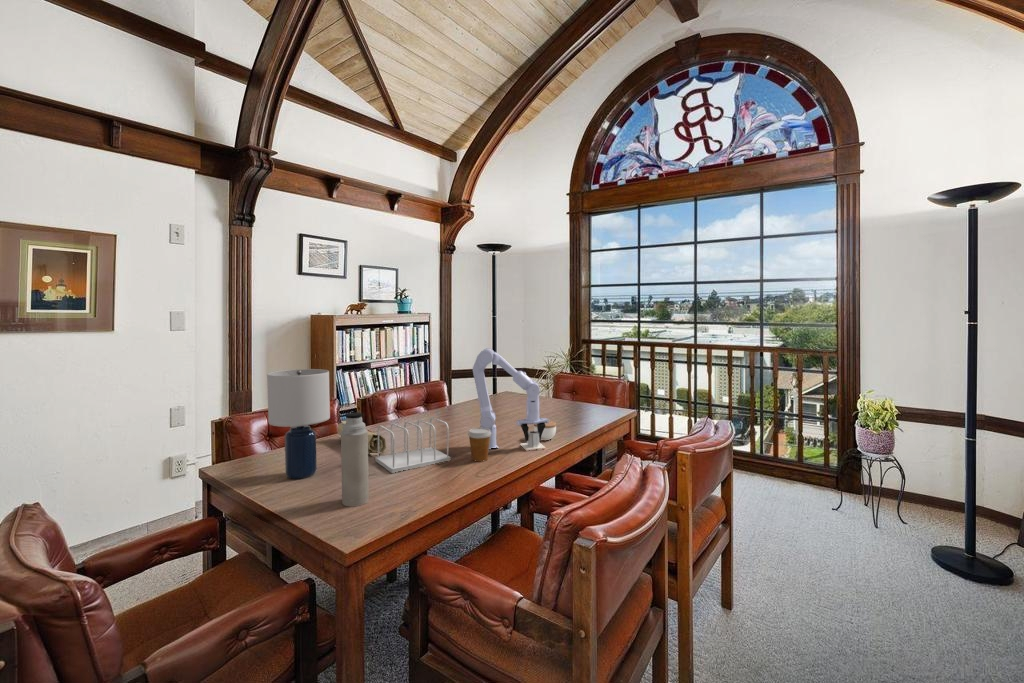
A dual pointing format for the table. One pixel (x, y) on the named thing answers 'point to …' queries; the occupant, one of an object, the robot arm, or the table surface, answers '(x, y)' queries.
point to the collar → (533, 439)
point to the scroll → (369, 440)
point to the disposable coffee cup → (479, 443)
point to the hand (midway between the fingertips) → (532, 440)
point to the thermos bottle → (354, 461)
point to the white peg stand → (531, 447)
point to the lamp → (299, 414)
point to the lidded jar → (547, 430)
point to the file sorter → (412, 451)
